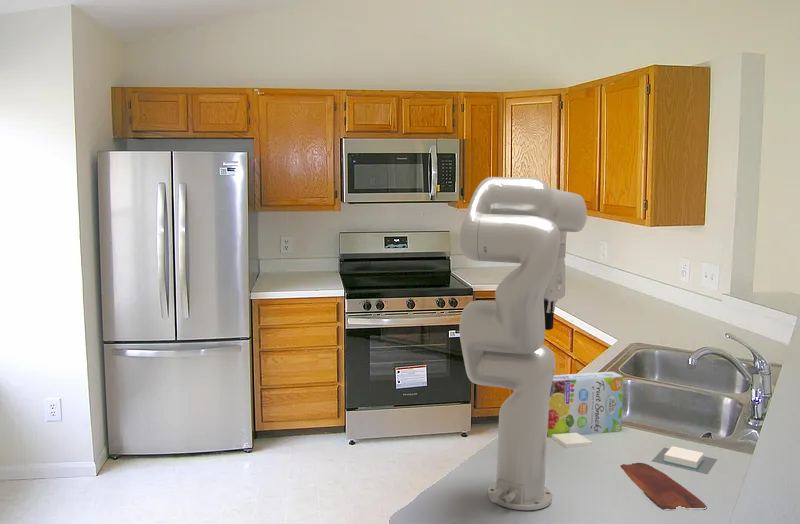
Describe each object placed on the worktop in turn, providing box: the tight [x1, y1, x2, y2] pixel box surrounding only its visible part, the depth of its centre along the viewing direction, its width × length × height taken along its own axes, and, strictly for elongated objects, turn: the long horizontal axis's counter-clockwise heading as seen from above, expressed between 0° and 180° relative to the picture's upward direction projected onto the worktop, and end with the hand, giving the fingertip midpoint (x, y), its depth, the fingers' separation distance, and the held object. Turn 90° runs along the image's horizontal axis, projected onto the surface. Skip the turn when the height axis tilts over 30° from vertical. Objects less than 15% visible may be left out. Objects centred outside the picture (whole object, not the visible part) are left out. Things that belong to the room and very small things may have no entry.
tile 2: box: [664, 445, 705, 470], centre depth 163 cm, size 2×7×7 cm
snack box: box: [547, 371, 624, 438], centre depth 181 cm, size 21×6×15 cm, turn 107°
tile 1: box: [551, 432, 593, 449], centre depth 174 cm, size 7×7×2 cm
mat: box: [651, 447, 718, 475], centre depth 164 cm, size 11×12×1 cm
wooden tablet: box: [619, 462, 707, 510], centre depth 152 cm, size 27×10×2 cm, turn 7°
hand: (545, 328), depth 167 cm, fingers closed
